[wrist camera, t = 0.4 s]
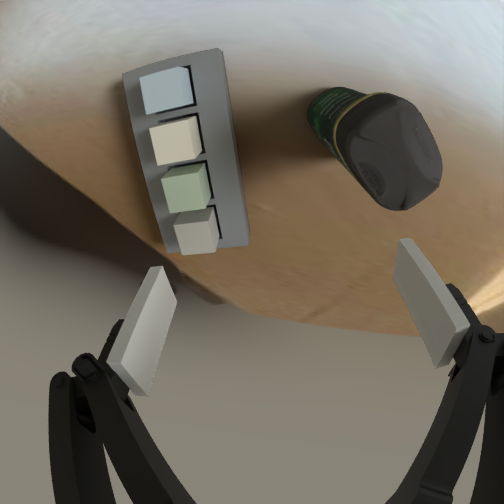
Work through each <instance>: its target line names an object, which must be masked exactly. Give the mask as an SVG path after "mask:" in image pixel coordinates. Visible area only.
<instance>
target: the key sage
mask: <svg viewBox="0 0 504 504" xmlns="http://www.w3.org/2000/svg"><path fill="white" fill-rule="evenodd" d="M161 181H162V185H163V189H164V193H165V197H166V200H167V204H168V208H169V211H170V213H177V212H184V211H191V210H199V209H206V206H207V204H208V202H209V199H210V197H211V193H210V188H209V183H208V178H207V172H206V167H205V163H200V164H194V165H188V166H182V167H177V168H171V169H170V170H169V171H168V172H167V173H166V174H165V175H164V176H163V177H162V178H161Z"/></svg>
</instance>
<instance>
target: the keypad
mask: <svg viewBox="0 0 504 504" xmlns="http://www.w3.org/2000/svg"><path fill="white" fill-rule="evenodd" d="M175 67H183V68H187V69H188V72H189V78H190V84H191V90H192V96H193V102H194V103H192V104H188V105H185V106H180V107H176V108H171V109H167V110H163V111H159V112H155V113H151V114H148V115H146V111H145V106H144V101H143V95H142V90H141V84H140V79H139V78H140V77H143V76H146V75H149V74H153V73H156V72H160V71H163V70H167V69H171V68H175ZM122 77H123V82H124V88H125V93H126V99H127V104H128V109H129V114H130V118H131V123H132V128H133V132H134V137H135V141H136V145H137V149H138V153H139V157H140V161H141V165H142V169H143V173H144V177H145V181H146V184H147V188H148V191H149V195H150V199H151V202H152V205H153V209H154V212H155V216H156V219H157V222H158V225H159V229H160V232H161V235H162V238H163V241H164V244H165V247H166V250H167V253H173V252H181V249H180V246H179V243H178V239H177V236H176V233H175V229H174V226H173V225H174V223H175V221H176V220H177V218H178V216H179V214H180V213H181V212H177V213H170V211H169V208H168V204H167V200H166V197H165V193H164V189H163V185H162V181H161V178H162V177H163V176H164V175H165V174H166V173H167V172H168V171H169V170H170V169H171V168H177V167H182V166H188V165H194V164H200V163H205V167H206V172H207V178H208V183H209V188H210V193H211V197H210V199H209V202H208V204H207V206H206V208H208V207H214V212H215V217H216V222H217V227H218V231H219V240H218V244H217V248H226V247H237V246H248V245H249V236H250V228H249V222H248V215H247V208H246V202H245V195H244V188H243V182H242V175H241V168H240V162H239V155H238V149H237V142H236V135H235V129H234V122H233V115H232V109H231V102H230V96H229V89H228V82H227V76H226V69H225V63H224V56H223V52H222V51H221V50H220V49H219V48H216V49H210V50H205V51H200V52H196V53H191V54H187V55H183V56H178V57H174V58H171V59H167V60H163V61H160V62H156V63H153V64H150V65H146V66H143V67H140V68H137V69H134V70H131V71H128V72H126V73H123V74H122ZM192 116H196V119H197V125H198V130H199V135H200V141H201V146H202V151H201V153H200V154H199V155H198V156H197V157H196V158H195V159H191V160H185V161H180V162H174V163H169V164H164V165H159V166H158V165H157V161H156V157H155V152H154V148H153V144H152V139H151V135H150V130H149V128H151V127H154V126H156V125H158V124H161V123H164V122H169V121H173V120H178V119H182V118H187V117H192Z"/></svg>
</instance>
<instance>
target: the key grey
mask: <svg viewBox="0 0 504 504" xmlns="http://www.w3.org/2000/svg"><path fill="white" fill-rule="evenodd" d="M173 226H174V229H175V233H176V236H177V239H178V243H179V246H180V249H181V253H182V255H191V254H202V253H213V252H216V248H217V244H218V240H219V231H218V227H217V222H216V217H215V212H214V207H208V208H206V209H199V210H191V211H184V212H181V213H180V214H179V216H178V218H177V220H176V221H175V223H174V225H173Z"/></svg>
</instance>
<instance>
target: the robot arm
mask: <svg viewBox="0 0 504 504" xmlns="http://www.w3.org/2000/svg"><path fill="white" fill-rule="evenodd" d="M393 280H394V282H395V284H396V286H397V288H398V290H399V292H400V293H401V295H402V297H403V299H404V301H405V303H406V305H407V307H408V309H409V311H410V313H411V315H412V317H413V319H414V321H415V324H416V326H417V328H418V330H419V332H420V334H421V336H422V339H423V341H424V343H425V345H426V348H427V350H428V352H429V354H430V357H431V359H432V362H433V364H434V366H435V369H436V368H439V367H443V366H446V365H448V364H449V363H450V361H451V359H452V358H453V357H454V360H455V362H456V363H455V365H454V366H453V368H452V370H451V371H450V373H449V375H448V376H450V375H451V376H450V379H449V382H448V385H447V388H446V391H445V394H444V397H443V399H442V402H441V404H440V407H439V409H438V412H437V414H436V416H435V419H434V421H433V423H432V426H431V428H430V430H429V432H428V435H427V437H426V439H425V441H424V443H423V445H422V447H421V449H420V451H419V453H418V455H417V456H416V458H415V460H414V462H413V464H412V466H411V467H410V469H409V471H408V473H407V474H406V476H405V478H404V479H403V481H402V483H401V484H400V486H399V487H398V489H397V491H396V492H395V493H394V494H393V496H392V497H391V498H390V499H389V500H388V501H387V502H386V503H385V504H452V502H453V496H452V491H453V489H454V487H455V484H456V482H457V480H458V478H459V476H460V474H461V472H462V469H463V467H464V464H465V462H466V460H467V457H468V455H469V452H470V450H471V447H472V444H473V442H474V439H475V436H476V433H477V430H478V427H479V424H480V420H481V417H482V414H483V410H484V406H485V403H486V410H485V424H484V434H483V443H482V450H481V456H480V462H479V468H478V472H477V477H476V482H475V486H474V490H473V494H472V498H471V501H470V504H504V333H495V331H494V330H493V329H492V328H490V327H489V326H486V325H482V324H481V323H480V321H479V320H478V318H477V316H476V315H475V313H474V312H473V310H472V309H471V307H470V305H469V304H467V301H466V299H465V298H464V296H463V295H462V293H461V292H460V291H459V289H458V288H456V287H455V286H454V285H453V284H451V283H450V284H446V285H445V284H444V282H443V281H442V279H441V278H440V277H439V275H438V274H437V272H436V271H435V269H434V268H433V267H432V265H431V264H430V263H429V261H428V260H427V258H426V257H425V256H424V254H423V253H422V252H421V251H420V249H419V248H418V247H417V245H416V244H415V243H414V241H413V240H412V239H411V238H405V239H399V243H398V250H397V257H396V263H395V269H394V275H393ZM176 304H177V301H176V298H175V296H174V294H173V291H172V289H171V286H170V284H169V281H168V279H167V276H166V274H165V272H164V269H163V267H162V266H158V267H151V268H150V270H149V271H148V273H147V275H146V277H145V279H144V281H143V283H142V285H141V287H140V289H139V291H138V293H137V295H136V297H135V299H134V301H133V303H132V305H131V307H130V310H129V312H128V314H127V316H126V318H125V319H119V321H118V322H117V323H116V324H115V325H114V326H113V328H112V330H111V332H110V334H109V336H108V338H107V342H106V343H105V345H104V347H103V349H102V351H101V354H100V356H99V358H98V360H97V359H96V358H95V357H94V356H93V355H92V354H90V353H84V354H81V355H80V356H79V357H77V358H76V359H75V361H74V362H73V364H72V371H73V373H74V374H75V375H76V376H75V377H70V376H69V375H68V374H67V373H66V372H59V373H57V374H55V375H54V376H53V378H52V380H51V382H50V389H49V452H50V465H51V475H52V483H53V490H54V496H55V502H56V504H116V501H115V498H114V494H113V490H112V487H111V482H110V478H109V473H108V469H107V464H106V458H105V453H104V447H103V444H104V446H105V448H106V451H107V453H108V455H109V457H110V460H111V462H112V464H113V466H114V468H115V470H116V472H117V474H118V476H119V478H120V480H121V482H122V484H123V486H124V488H125V489H126V491H127V493H128V495H129V497H130V499H131V500H132V502H133V504H196V503H195V501H194V500H193V499H192V497H191V496H190V495H189V494H188V492H187V491H186V490H185V488H184V487H183V485H182V484H181V483H180V481H179V480H178V479H177V477H176V475H175V474H174V473H173V471H172V470H171V468H170V467H169V465H168V464H167V462H166V461H165V459H164V457H163V456H162V454H161V453H160V451H159V449H158V448H157V446H156V444H155V443H154V441H153V439H152V438H151V436H150V434H149V432H148V431H147V429H146V427H145V425H144V423H143V422H142V420H141V418H140V416H139V414H138V412H137V410H136V408H135V407H134V404H133V402H132V400H131V399H130V397H129V396H128V392H129V389H130V390H131V391H132V392H133V393H134V394H135V395H139V396H149V393H150V390H151V386H152V383H153V379H154V376H155V372H156V369H157V365H158V362H159V358H160V355H161V352H162V348H163V345H164V342H165V339H166V335H167V332H168V329H169V325H170V322H171V320H172V316H173V313H174V310H175V307H176Z"/></svg>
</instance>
